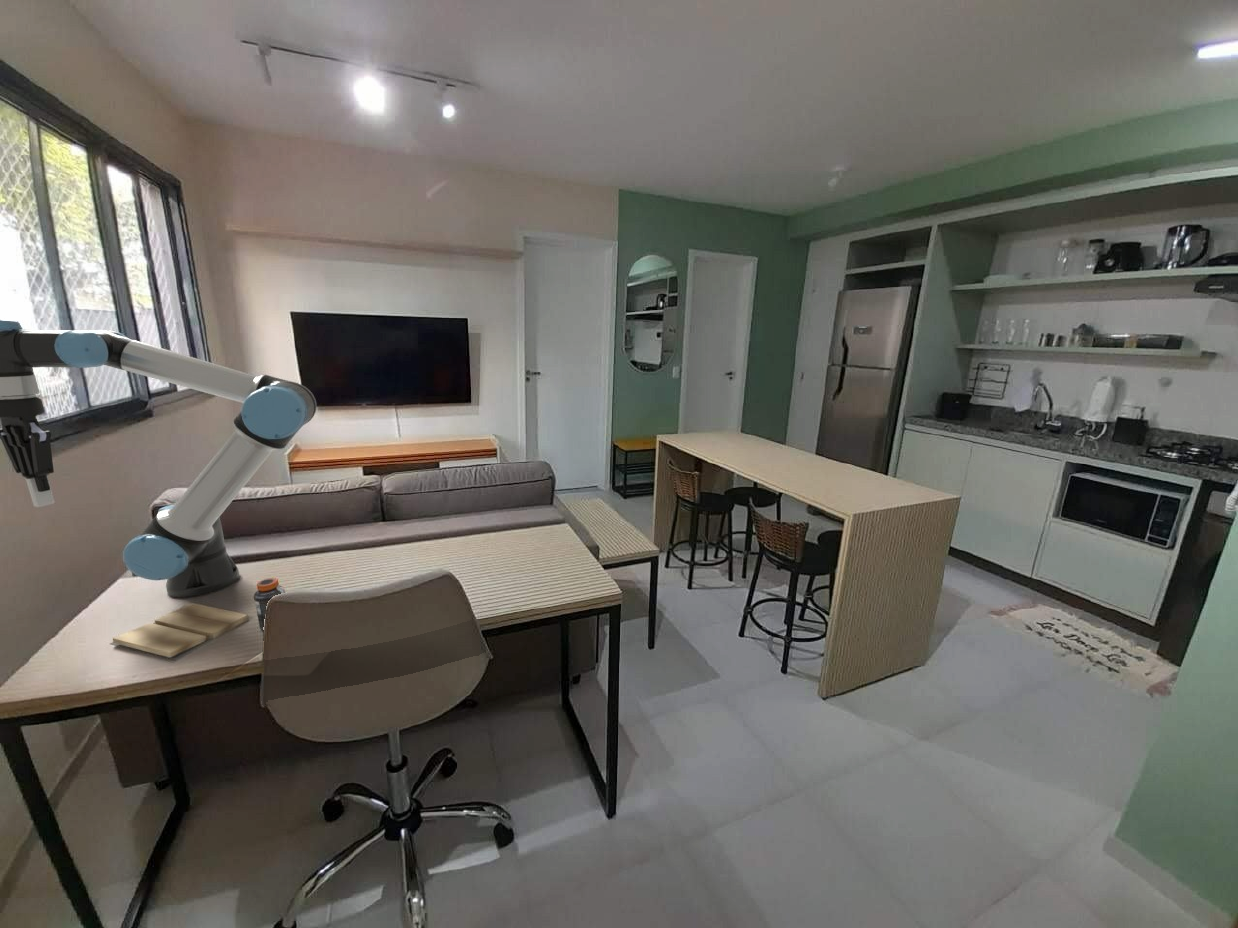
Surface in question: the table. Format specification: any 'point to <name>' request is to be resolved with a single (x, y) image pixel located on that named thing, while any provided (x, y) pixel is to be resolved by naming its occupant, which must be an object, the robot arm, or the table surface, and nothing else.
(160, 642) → the board
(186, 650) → the underlay mat
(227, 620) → the floor board
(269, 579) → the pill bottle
